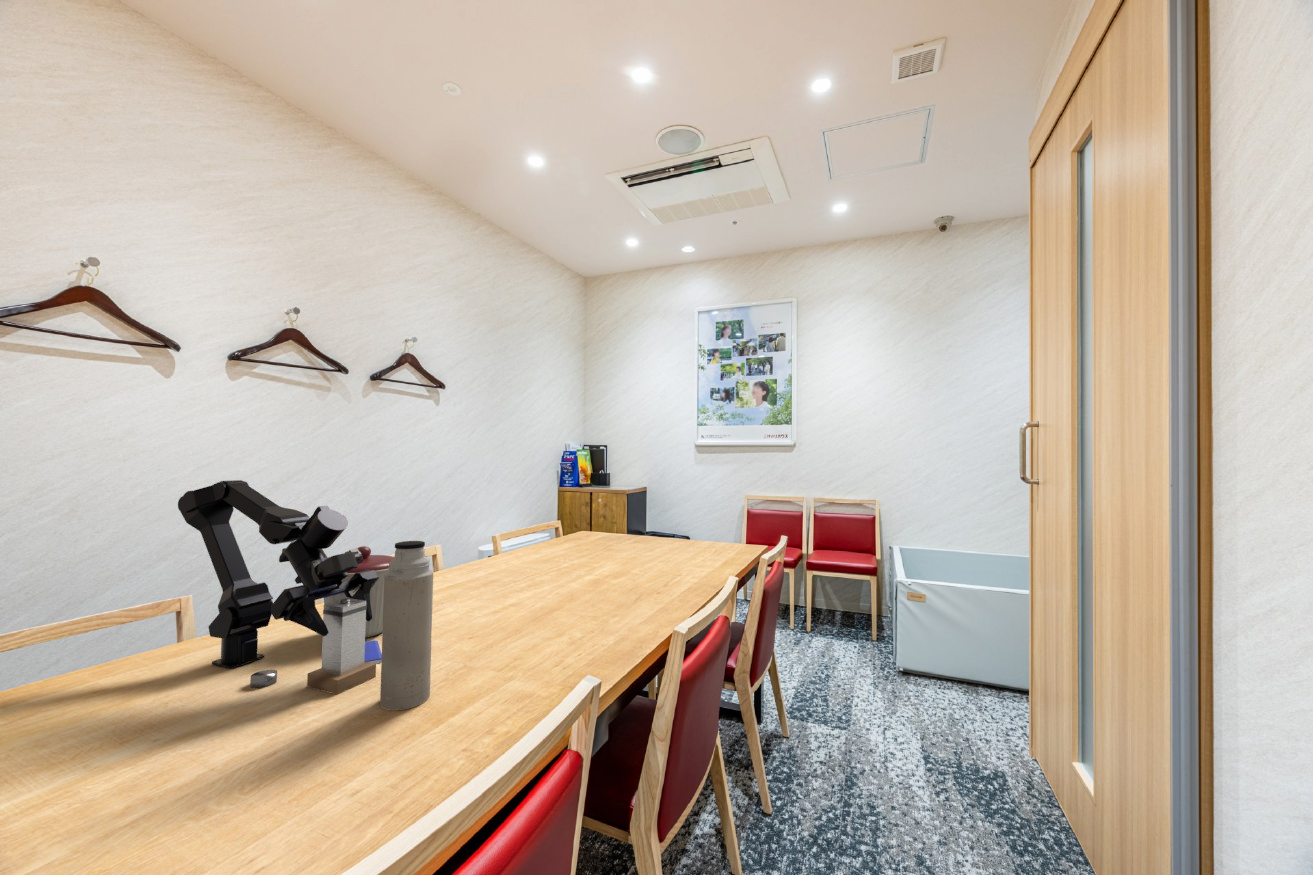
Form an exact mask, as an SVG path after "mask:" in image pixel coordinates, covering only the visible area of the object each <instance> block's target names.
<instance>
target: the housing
mask: <svg viewBox="0 0 1313 875" xmlns="http://www.w3.org/2000/svg"><path fill="white" fill-rule="evenodd" d="M366 609H367V605H366V601H364V600H357V599H350V598H347V599H342V600H339V601H336V602H332V603H329V604H325V605H324V604H323V610H322V615H323V617H322V619H323V621H324V623H325V625H326V627H327V629H328V632H329V633H328V634H327V635H326V636H322V643H321V644H322V646H321V667H320V668H321V672H326V673H330V674H335V675H340V676H341V675H343V674H346V673H348V672H350V671H353V670H355V669H357V668H360V667H362V666H364V656H365V642H366V638H365V627H366Z"/></svg>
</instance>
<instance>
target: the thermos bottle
mask: <svg viewBox="0 0 1313 875" xmlns="http://www.w3.org/2000/svg"><path fill="white" fill-rule="evenodd" d="M425 544H426V542H425V541H423V540H405V541H398V542H396V543H394V548H395V551H394V557H395V559H393V560H392V561H390V562H389V568H388V570H389V573H387V574H386V575H385V576H384V600H383V630H382V633H381V636H382V637H381V654H382V662H381V663H380V666H381V667H380V696H379V697H380V698H379V699H380V700H379V703H380V705H379V706H380V707H381V708H382V709H384V710H386V711H404V710H408V709H412V708H415V707H418V706H420V705H422V704H424V703H425V702H427V701H428V700H429V698H430V696H431V666H432V663H431V662H432V630H433V629H432V627H433V626H432V625H433V602H434V601H433V598H434V596H433V595H434V571H433V570H431V569H430V565H431V562H430V559H429V558H428V557H426V556H425V552H426V551H425V550H426V549H425V546H426V545H425Z"/></svg>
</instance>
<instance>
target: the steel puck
mask: <svg viewBox="0 0 1313 875" xmlns="http://www.w3.org/2000/svg"><path fill="white" fill-rule="evenodd" d="M277 682H278V670H277V669H264V670H260V671H257V672H254V673H252V674H251V675H250V682H249V683H250V684H249V687H250V689H254V688H255V689H256V688H257V689H262V688H263V689H264V688H266V687H270V686H273V685H276V684H277Z"/></svg>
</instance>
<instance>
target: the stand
mask: <svg viewBox="0 0 1313 875" xmlns="http://www.w3.org/2000/svg"><path fill="white" fill-rule="evenodd" d="M376 677H377V664H374V663H369V662H365V661H364V666H362V667H360V668H357V669H355V670H353V671H350V672H348V673H346V674H343V675H341V676H340V675H335V674H330V673H326V672H321V667H320V668H318V669H315V670H313V671H310V672H308V673H307V680H306V683H307V684H306V687H307V688H310V689H313V690H319V691H323V692H327V693H330V694H335V695H339V694H341V693H344V692H346V691H348V690H350V689H352V688H354V687H357V686H359V685H361V684H363V683H365V682H367V681H370V680H372V679H374V678H376Z"/></svg>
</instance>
